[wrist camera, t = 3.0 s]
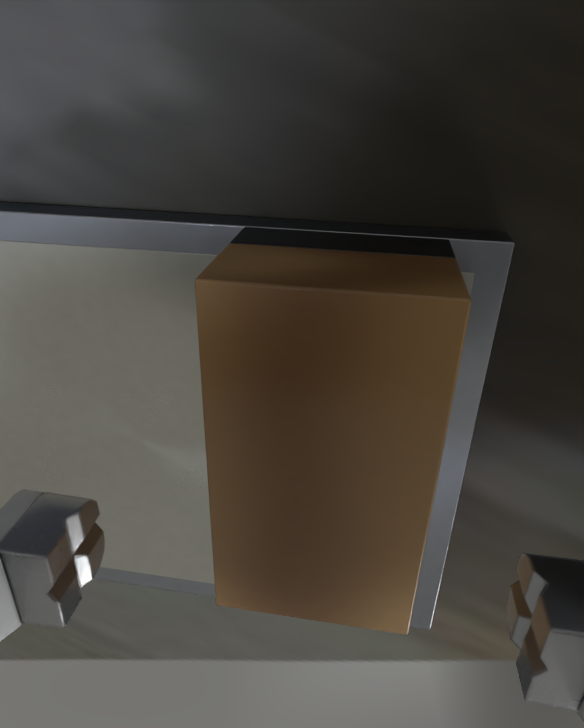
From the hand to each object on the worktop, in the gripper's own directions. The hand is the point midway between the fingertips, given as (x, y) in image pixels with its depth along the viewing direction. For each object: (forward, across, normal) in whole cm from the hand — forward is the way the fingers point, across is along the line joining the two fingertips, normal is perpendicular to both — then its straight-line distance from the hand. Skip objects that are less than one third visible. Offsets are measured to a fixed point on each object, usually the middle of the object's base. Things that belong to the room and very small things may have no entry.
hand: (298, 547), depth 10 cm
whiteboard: (+7, +6, +2) cm, 9 cm away
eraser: (+6, 0, 0) cm, 6 cm away
